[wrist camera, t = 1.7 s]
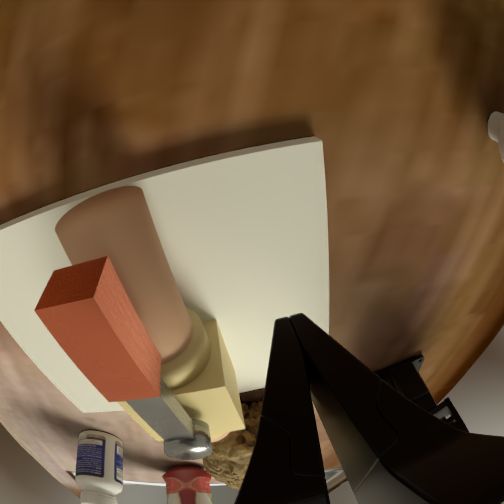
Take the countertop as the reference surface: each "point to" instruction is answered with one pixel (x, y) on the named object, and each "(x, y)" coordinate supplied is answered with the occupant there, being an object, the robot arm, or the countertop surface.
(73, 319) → the valve lever
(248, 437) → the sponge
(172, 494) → the liquor
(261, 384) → the valve board
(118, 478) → the pill bottle
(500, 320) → the countertop surface
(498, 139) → the showerhead
